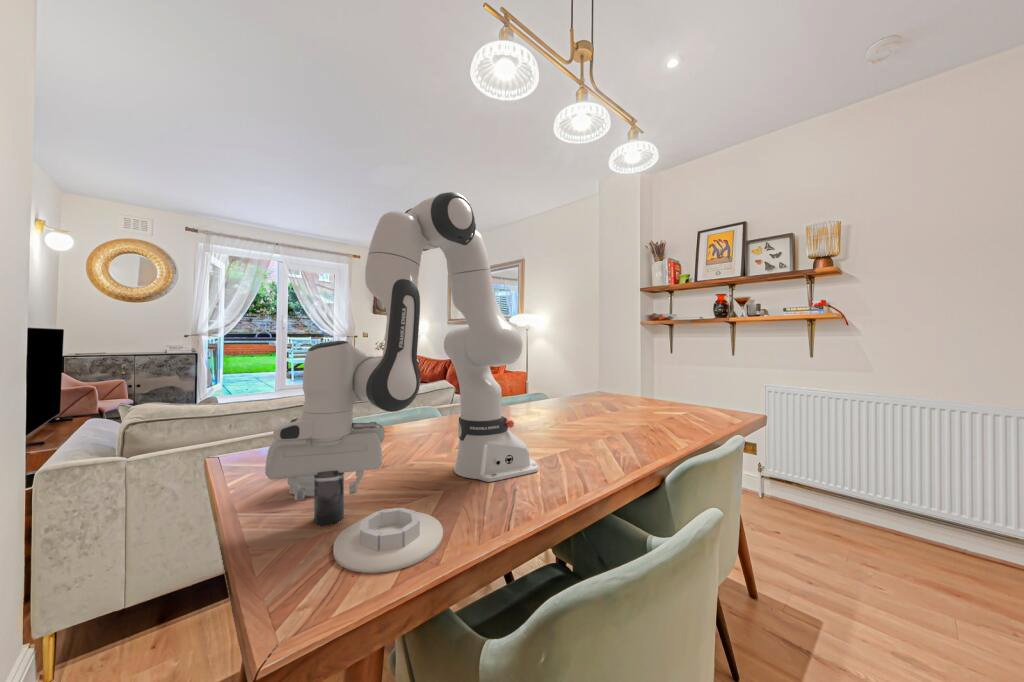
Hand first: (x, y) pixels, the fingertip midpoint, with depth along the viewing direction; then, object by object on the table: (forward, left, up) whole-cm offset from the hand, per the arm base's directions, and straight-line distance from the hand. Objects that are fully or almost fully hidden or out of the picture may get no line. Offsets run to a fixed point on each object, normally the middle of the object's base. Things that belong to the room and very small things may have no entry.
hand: (327, 495), depth 73 cm
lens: (0, 0, -5) cm, 5 cm away
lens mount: (-11, +12, -5) cm, 17 cm away
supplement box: (+5, -17, -5) cm, 18 cm away
